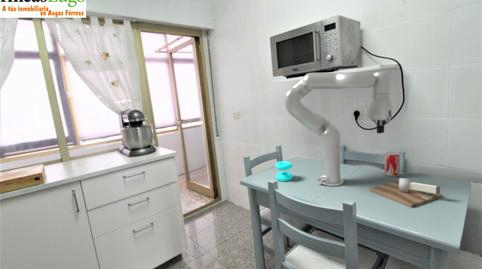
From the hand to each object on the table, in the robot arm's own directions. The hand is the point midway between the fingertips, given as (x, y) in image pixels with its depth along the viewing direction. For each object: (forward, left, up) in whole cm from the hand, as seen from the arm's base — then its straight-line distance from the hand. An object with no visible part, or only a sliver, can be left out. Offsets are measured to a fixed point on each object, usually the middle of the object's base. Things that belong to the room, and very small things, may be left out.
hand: (380, 132), depth 125 cm
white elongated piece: (0, -20, -26) cm, 32 cm away
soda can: (+14, +4, -27) cm, 31 cm away
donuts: (-39, +33, -27) cm, 58 cm away
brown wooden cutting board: (-2, -15, -27) cm, 31 cm away
